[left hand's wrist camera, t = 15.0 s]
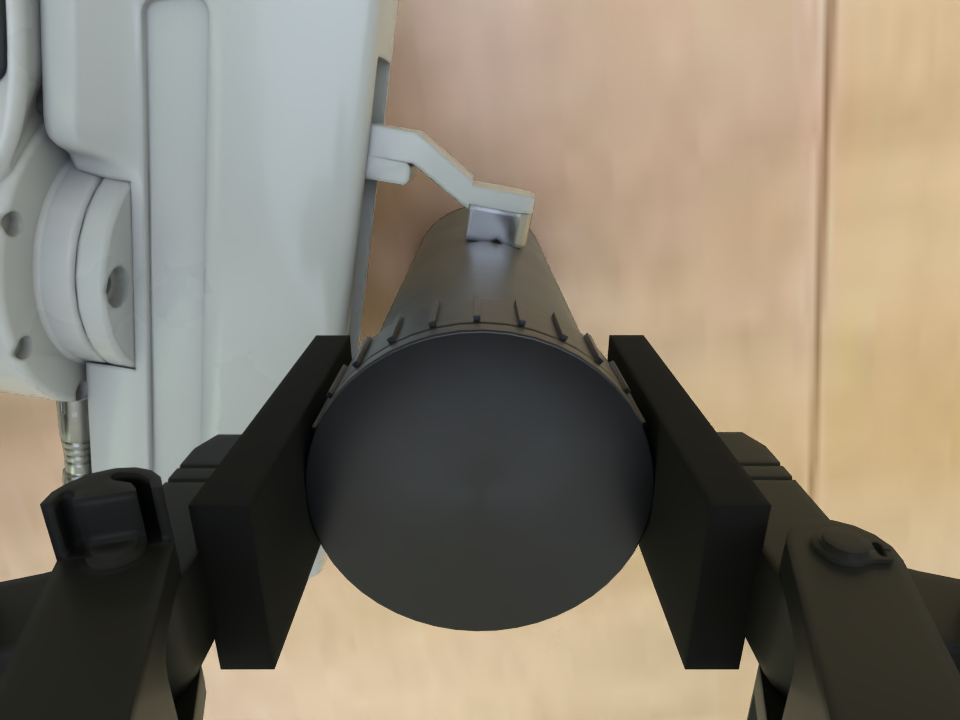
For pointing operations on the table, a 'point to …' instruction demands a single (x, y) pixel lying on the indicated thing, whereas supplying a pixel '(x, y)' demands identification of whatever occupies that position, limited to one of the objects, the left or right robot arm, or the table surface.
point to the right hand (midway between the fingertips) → (508, 324)
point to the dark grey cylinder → (476, 272)
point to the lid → (479, 467)
